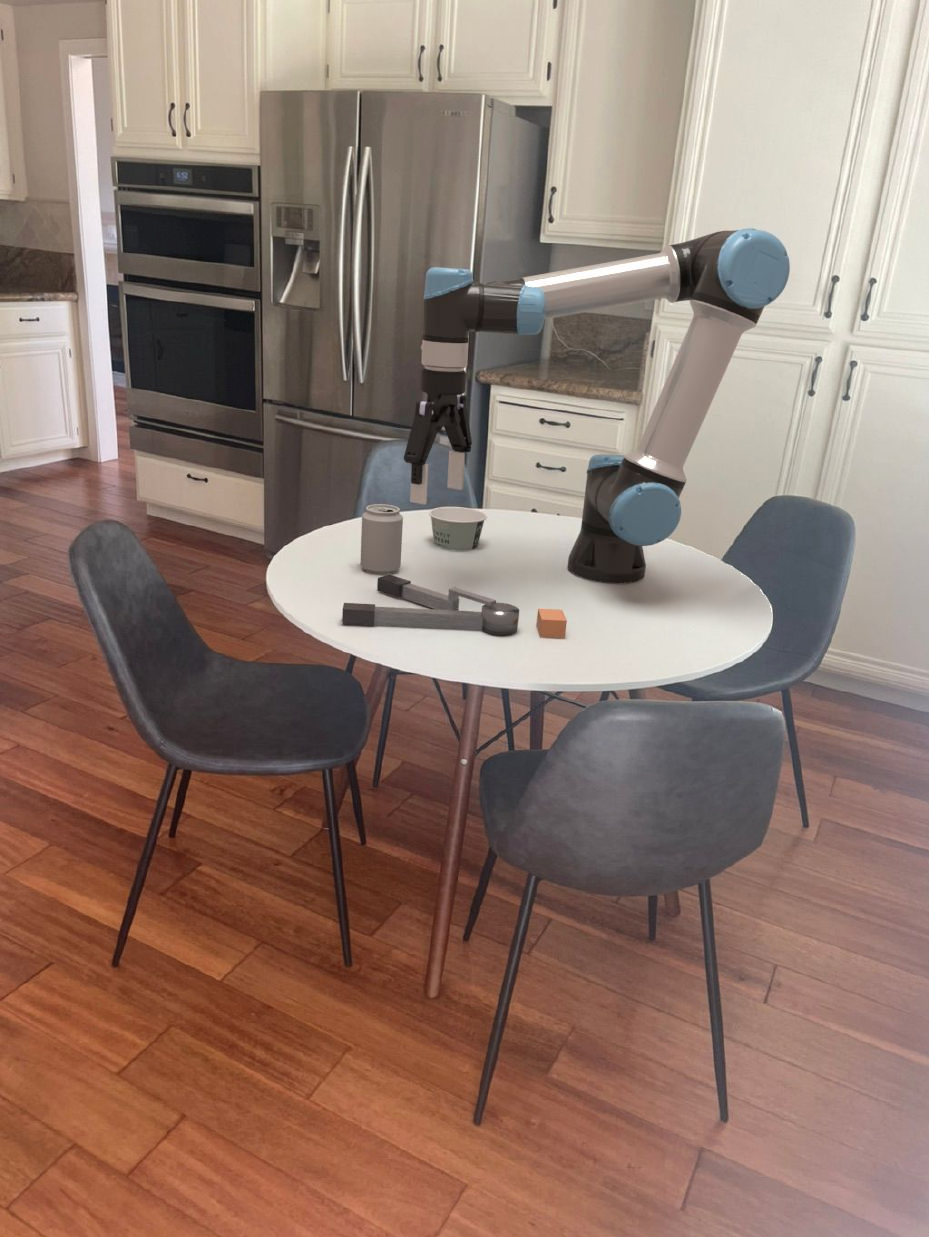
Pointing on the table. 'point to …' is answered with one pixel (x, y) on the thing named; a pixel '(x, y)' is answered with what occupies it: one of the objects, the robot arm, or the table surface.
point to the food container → (457, 527)
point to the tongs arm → (427, 594)
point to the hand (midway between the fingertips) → (437, 495)
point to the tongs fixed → (435, 618)
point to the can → (381, 539)
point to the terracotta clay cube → (551, 623)
